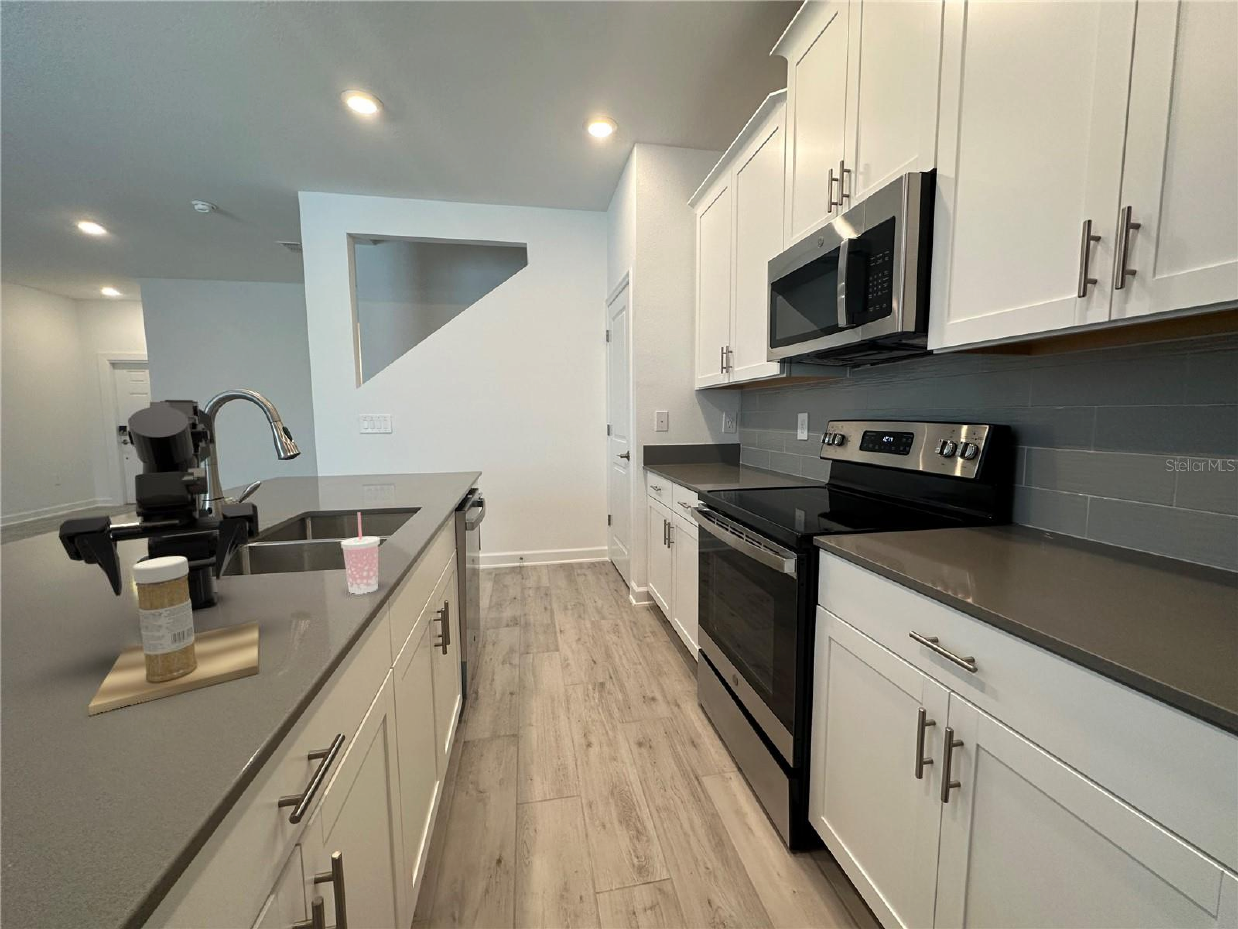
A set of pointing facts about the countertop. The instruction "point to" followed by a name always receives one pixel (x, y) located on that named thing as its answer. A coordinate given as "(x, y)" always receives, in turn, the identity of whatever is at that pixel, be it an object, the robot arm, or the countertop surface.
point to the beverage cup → (361, 562)
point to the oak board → (216, 662)
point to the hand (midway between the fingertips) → (170, 585)
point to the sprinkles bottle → (165, 617)
